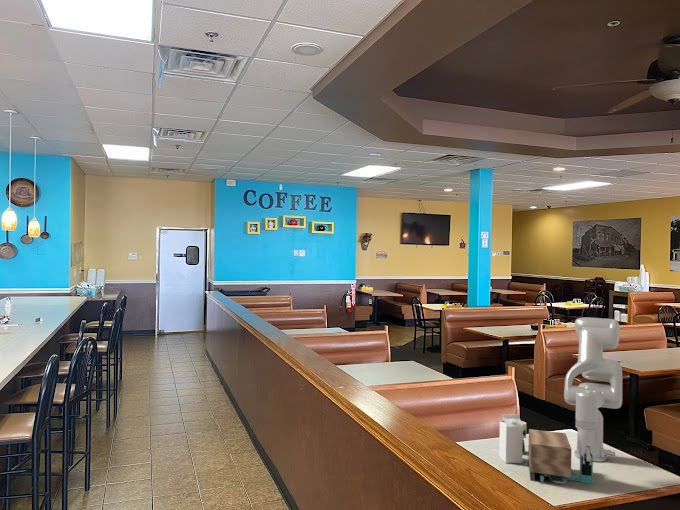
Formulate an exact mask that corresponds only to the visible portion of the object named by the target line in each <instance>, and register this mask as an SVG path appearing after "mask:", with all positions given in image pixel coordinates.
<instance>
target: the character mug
mask: <svg viewBox="0 0 680 510" xmlns="http://www.w3.org/2000/svg"><path fill="white" fill-rule="evenodd" d="M521 423H522V425H523V450H522V454H524V453H526V448H525V447H526V445H525V440H524V439H526V438H527V422H525V421H523V420H521Z"/></svg>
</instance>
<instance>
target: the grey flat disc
mask: <svg viewBox="0 0 680 510" xmlns="http://www.w3.org/2000/svg"><path fill="white" fill-rule="evenodd" d="M549 481H550V482H551V483H553V484H557V485H567V484H568V479H566V478H564V477H561V476H550V477H549Z"/></svg>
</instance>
